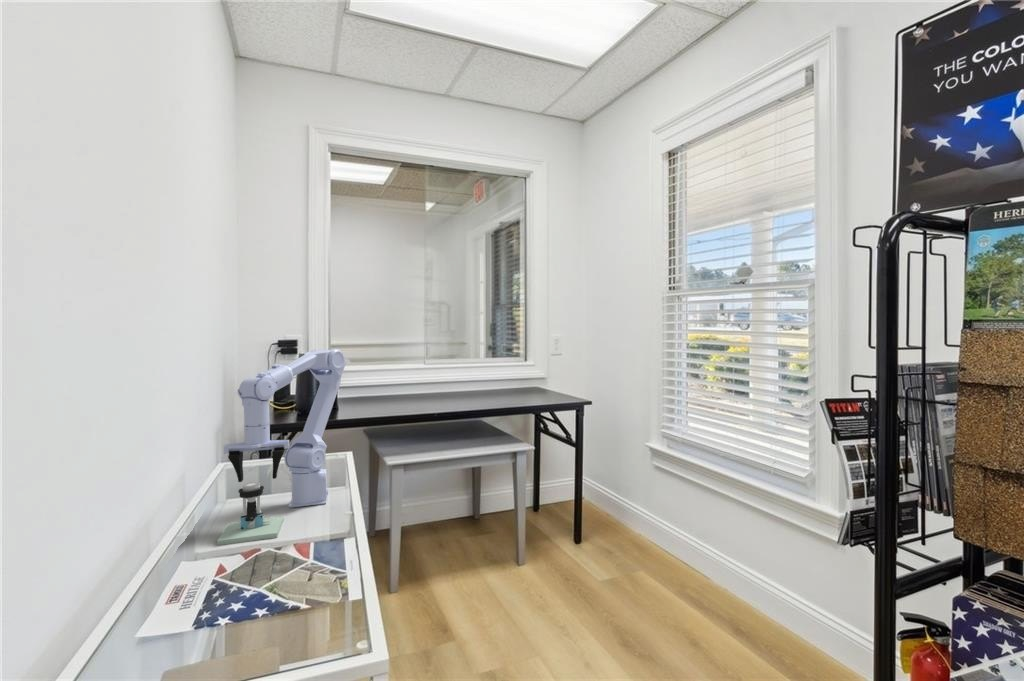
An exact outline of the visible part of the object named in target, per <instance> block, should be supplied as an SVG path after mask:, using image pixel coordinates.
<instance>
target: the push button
mask: <svg viewBox="0 0 1024 681" xmlns="http://www.w3.org/2000/svg"><path fill="white" fill-rule="evenodd" d="M264 489H265V486H264V485H260V482H248V483H244V484H243V485H242V488H239V489H238V490H237V491H238V494H239V498H242V513H241V516H240V521H239V522H240V523H241V530H244V529H249V528H255V527H261V526H263V523H267V522H271V521H265V522H263V520H264V519H269V518H272V517H271V516H268V517H264V513H263V512H262V510H261V499H260V498H261V496H262V495H263V493H264Z"/></svg>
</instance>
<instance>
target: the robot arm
mask: <svg viewBox="0 0 1024 681" xmlns="http://www.w3.org/2000/svg"><path fill="white" fill-rule="evenodd" d="M346 364H347V362H346V358H345V356H344V353H343V352H342V351H341V350H340V349H338V348H334V349H318V350H317V349H312V350H310V351H306V352H305V353H304V355H301V356H300V357H298V358H297V359H295V360H294V361H292V362H290V363H289V364H287V365H284V364H279V363H277V364H275V363H274V364H273V365H271V368H270V369H268V370H265V371H261V372H258V373H257V375H256V376H255V377H247V378H244V379H243V381H242V382H241V383H240V384H239V387H238V389H237V395H238V397H239V398H240V400H241V406H242V407H243V425H244V426H243V432H244V434H243V436H244V438H243V440H244V441H243V442H236V443H228V444H225V445H223V454H228V456H227V457H228V460H229V461H230V463H231V464H232V466H233V469H234V470H235V474H236V476H237V481H238V483H242V482H243V481H244V468H243V466H244V465H243V463H244V453H245V452H255V451H268V450H272V451H271V454H272V455H271V456H272V457H271V458H272V479H273V480H274V479H277V478H278V470H279V467H280V462H281V460H282V457H283V455H284V459H283V460H284V464H285V465H286V467H287V468H288V471H289V472H291V473H290V476H291V477H290V478H291V500H290V501H289V504H288V508H299V507H306V506H313V505H315V506H316V505H323V504H326V503H327V500H328V495H329V488H328V475H327V474H328V473H327V472H328V471H327V468H323V466H324V464H325V462H326V451H327V448H328V445H327V444H326V442H324V440H323V439H322V438H323V435H324V432H325V429H326V427H327V424H328V422H329V417H330V415H331V412H332V410H333V406H334V403H335V400H336V396H337V395H338V391H339V388H340V385H341V382H342V381H341V379H342V375H343V372H344V370H345V367H346ZM308 370H309V371H310V372H311V374H312V375H313V376H314V379H316V380H317V381H318V383H319V386H318V389H317V391H316V394H315V397H314V400H313V403H312V405H311V407H310V408H311V409H310V411H309V414H308V416H307V418H306V422H305V424H304V427H303V429H302V430H303V431H302V433H300V435H299V436H297V437H295V438H294V439H293V440H292V441H291V444H290V439H276V440H275V439H273V440H272V439H271V435H270V434H271V433H270V432H271V431H270V430H271V425H270V422H271V421H270V400H271V399H272V398H273V396H274V395H275V392H277V391H278V390H281V389H282V388H284V387H286V386H287V385H290V384H291V383H292V381H293V378H294V376H295V377H296V376H297V375H299V374H301V373H303V372H304V373H305V371H308ZM286 449H287V450H286ZM284 453H285V454H284Z"/></svg>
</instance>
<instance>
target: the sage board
mask: <svg viewBox="0 0 1024 681" xmlns="http://www.w3.org/2000/svg"><path fill="white" fill-rule="evenodd" d="M265 521H271V522H267V523H263V526H261V527H255V528H249V529H244V530H241V523H240V521H235V522H229V523H228V525H227V526H226V528H225V529H224V531H223V532H222V533H221V535H220V536H219V537H218V538H217V540H216V545H217V546H223V545H229V544H231V545H232V544H236V543H237V544H238V543H245V542H246V543H247V542H253V541H259V540H267V539H268V540H269V539H274V538H278V537H279V534H280V531H281V528H282V526H283V524H284V521H285V516H279V517H278V516H276V517H271V518H269V519H264V520H263V522H265Z"/></svg>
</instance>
